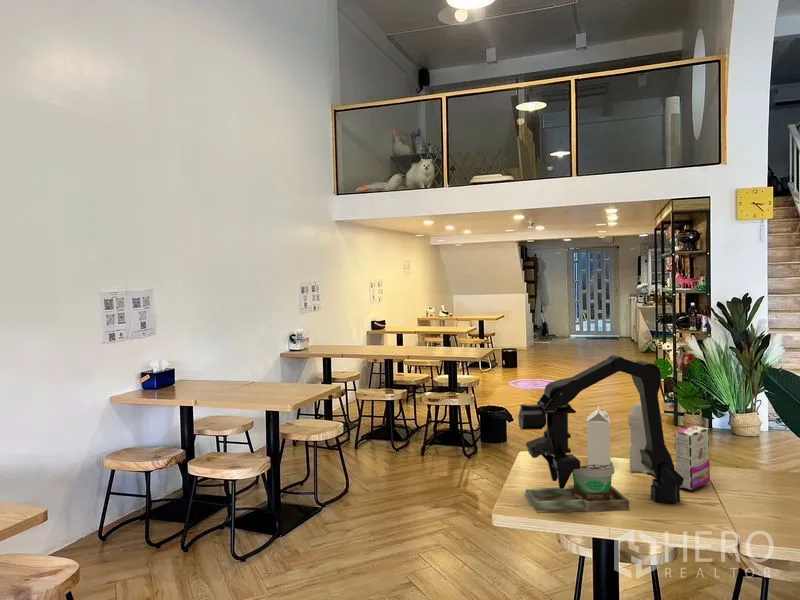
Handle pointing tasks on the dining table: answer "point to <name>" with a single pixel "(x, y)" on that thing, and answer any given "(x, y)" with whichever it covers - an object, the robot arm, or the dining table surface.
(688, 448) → the candy bar box
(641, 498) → the dining table surface
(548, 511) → the green flat tray
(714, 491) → the dining table surface
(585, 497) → the food container
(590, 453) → the milk carton
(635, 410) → the light grey flat bottle
